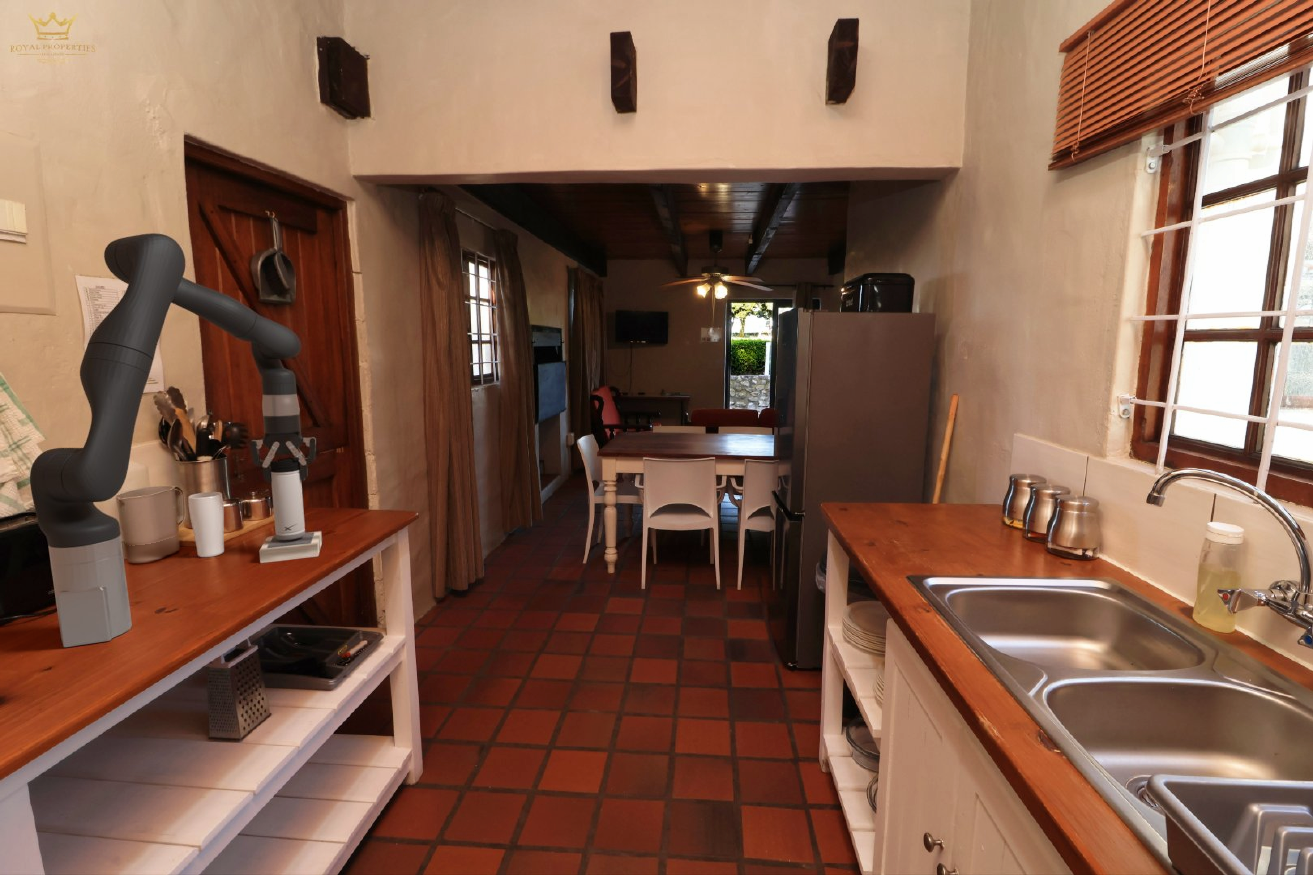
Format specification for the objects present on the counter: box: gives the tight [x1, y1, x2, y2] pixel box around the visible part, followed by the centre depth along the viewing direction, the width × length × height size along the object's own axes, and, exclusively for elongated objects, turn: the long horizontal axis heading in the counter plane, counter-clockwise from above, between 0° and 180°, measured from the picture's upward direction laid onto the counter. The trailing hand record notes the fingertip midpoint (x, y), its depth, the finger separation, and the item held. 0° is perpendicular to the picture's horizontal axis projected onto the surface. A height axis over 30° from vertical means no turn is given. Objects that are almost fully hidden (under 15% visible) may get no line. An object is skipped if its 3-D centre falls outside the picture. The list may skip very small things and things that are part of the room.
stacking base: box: [258, 530, 323, 564], centre depth 152 cm, size 12×12×3 cm
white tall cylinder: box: [187, 491, 225, 558], centre depth 149 cm, size 7×7×15 cm
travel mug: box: [270, 456, 306, 540], centre depth 150 cm, size 6×7×20 cm
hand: (286, 480), depth 150 cm, fingers open, 6 cm apart
